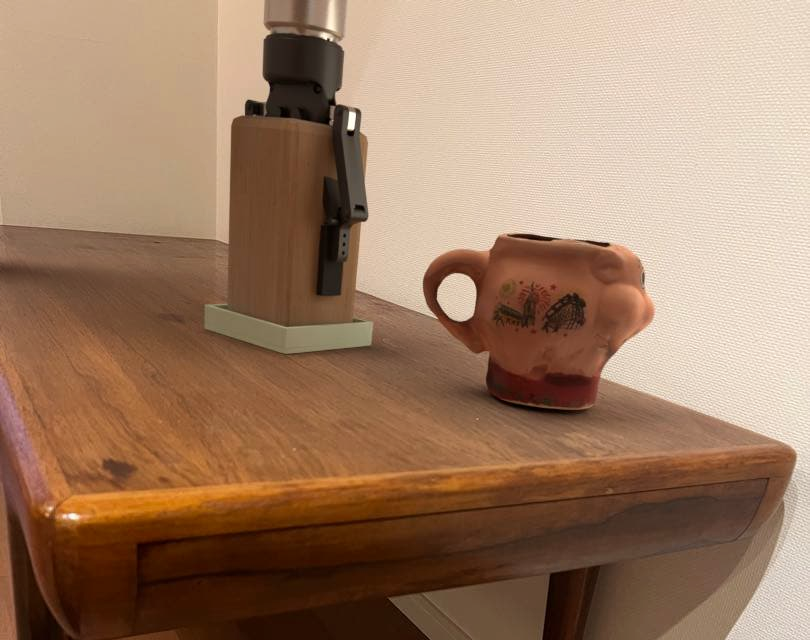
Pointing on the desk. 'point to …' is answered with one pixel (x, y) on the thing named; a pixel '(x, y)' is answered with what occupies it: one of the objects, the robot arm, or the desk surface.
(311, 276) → the block
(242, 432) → the desk surface
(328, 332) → the shallow tray
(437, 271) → the terracotta mug
